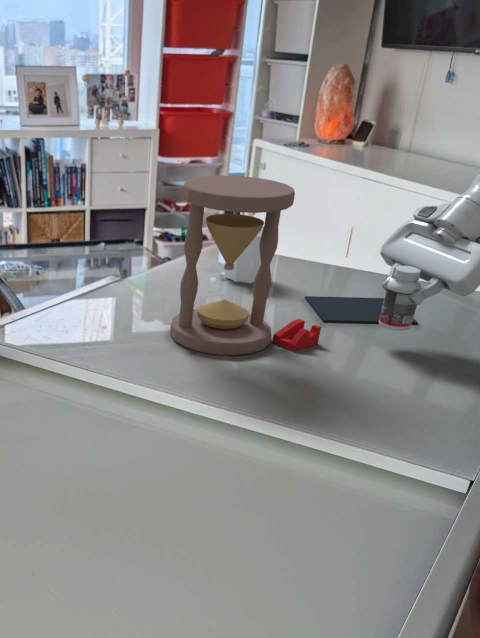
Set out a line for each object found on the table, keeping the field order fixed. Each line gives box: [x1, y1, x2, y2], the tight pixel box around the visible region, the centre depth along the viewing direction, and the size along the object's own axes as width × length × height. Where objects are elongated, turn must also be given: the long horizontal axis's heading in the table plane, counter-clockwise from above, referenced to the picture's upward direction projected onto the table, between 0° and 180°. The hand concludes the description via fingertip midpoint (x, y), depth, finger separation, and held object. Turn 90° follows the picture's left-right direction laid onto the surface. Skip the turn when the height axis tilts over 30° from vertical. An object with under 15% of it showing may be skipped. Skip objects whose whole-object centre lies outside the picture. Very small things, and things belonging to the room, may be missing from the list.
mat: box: [304, 295, 419, 325], centre depth 148 cm, size 18×14×1 cm
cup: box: [224, 225, 264, 284], centre depth 161 cm, size 10×10×10 cm
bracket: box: [272, 318, 322, 352], centre depth 132 cm, size 6×5×3 cm
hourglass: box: [169, 175, 296, 356], centre depth 127 cm, size 18×18×25 cm
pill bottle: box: [378, 266, 422, 332], centre depth 128 cm, size 5×5×10 cm
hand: (398, 295), depth 127 cm, fingers closed on pill bottle, 5 cm apart
